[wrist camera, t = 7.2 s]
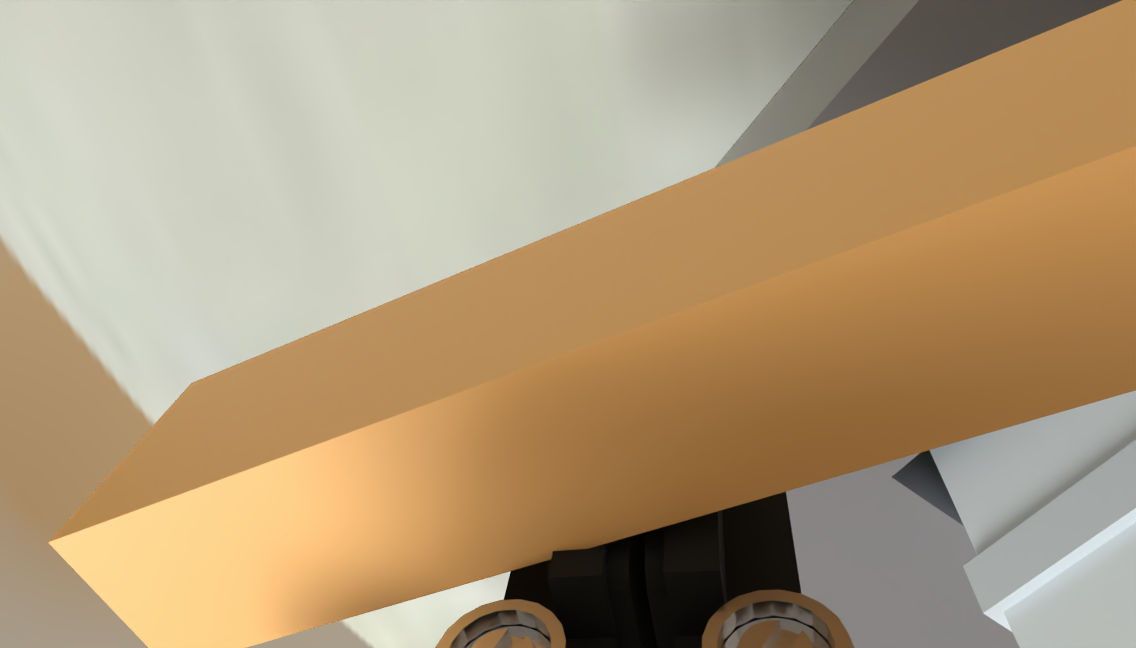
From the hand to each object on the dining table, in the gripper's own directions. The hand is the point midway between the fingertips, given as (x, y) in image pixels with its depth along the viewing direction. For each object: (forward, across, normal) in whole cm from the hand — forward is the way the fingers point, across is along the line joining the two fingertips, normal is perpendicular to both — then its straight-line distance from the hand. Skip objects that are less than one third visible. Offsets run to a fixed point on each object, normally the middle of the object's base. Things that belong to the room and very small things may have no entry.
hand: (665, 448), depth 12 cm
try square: (+6, -2, -3) cm, 7 cm away
